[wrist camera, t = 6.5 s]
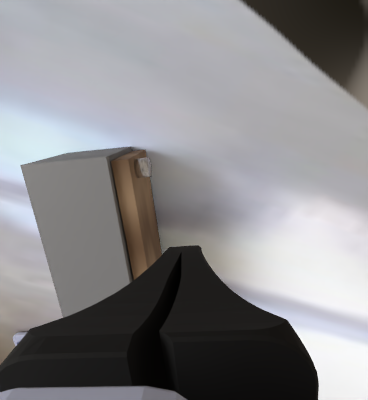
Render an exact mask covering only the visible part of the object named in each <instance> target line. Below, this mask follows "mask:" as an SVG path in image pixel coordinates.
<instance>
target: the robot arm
mask: <svg viewBox="0 0 368 400" xmlns="http://www.w3.org/2000/svg"><path fill="white" fill-rule="evenodd" d="M13 340H14V343H15V346H16V347H15V348H14V349H13V350H12V352H11V353H10V354H9V355H8V356H7V358H6V359H5V360H4V361H3V363H2V364H1V365H0V400H318V387H319V384H318V376H317V371H316V369H315V366H314V364H313V361H312V359H311V357H310V355H309V353H308V352H307V350H306V348H305V346H304V345H303V343H302V341H301V340H300V338H299V337H298V335H297V334H296V332H295V331H294V329H293V328H292V326H291V325H290V323H289V322H288V321H287V320H286V319H283V318H281V317H279V316H276V315H274V314H271V313H269V312H267V311H264V310H262V309H260V308H258V307H256V306H255V305H253V304H251V303H249V302H248V301H246V300H244V299H243V298H241V297H240V296H239V295H237V294H236V293H234V292H233V291H232V290H231V289H230V288H228V287H227V286H226V285H225V284H224V283H223V282H222V281H221V280H220V278H219V277H218V276H217V275H216V274H215V273H214V271H213V270H212V269H211V267H210V266H209V264H208V263H207V261H206V259H205V258H204V256H203V254H202V251H201V247H199V246H181V247H170V248H168V249H167V250H166V251H165V252H164V253H163V254H162V255H161V256H160V257H159V258H158V259H157V260H156V261H155V262H154V263H153V264H152V265H151V266H150V267H149V268H148V269H147V270H145V271H144V272H143V273H142V274H141V275H140V276H138V277H137V278H136V279H135V280H133V281H132V282H131V283H129V284H128V285H127V286H125V287H124V288H122V289H121V290H119V291H118V292H116V293H114V294H112V295H111V296H109V297H107V298H105V299H103V300H102V301H100V302H98V303H96V304H94V305H92V306H90V307H88V308H86V309H83V310H81V311H79V312H76V313H74V314H72V315H69V316H67V317H64V318H61V319H59V320H56V321H53V322H50V323H47V324H44V325H41V326H38V327H35V328H32V329H30V330H29V331H28V332H19V333H16V334H15V335H14V336H13Z"/></svg>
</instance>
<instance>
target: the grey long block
mask: <svg viewBox="0 0 368 400" xmlns="http://www.w3.org/2000/svg"><path fill="white" fill-rule="evenodd" d="M131 151H132V148H131V147H122V148H112V149H103V150H93V151H83V152H74V153H66V154H62V155H58V156H54V157H51V158H47V159H43V160H39V161H35V162H32V163H28V164H24V165H21V169H22V172H23V176H24V180H25V183H26V187H27V190H28V194H29V197H30V201H31V205H32V208H33V212H34V215H35V219H36V222H37V226H38V229H39V233H40V237H41V240H42V244H43V247H44V251H45V254H46V258H47V262H48V265H49V269H50V272H51V276H52V279H53V283H54V287H55V290H56V294H57V297H58V301H59V304H60V308H61V311H62V315H63V318H64V317H67V316H69V315H72V314H74V313H76V312H79V311H81V310H83V309H86V308H88V307H90V306H92V305H94V304H96V303H98V302H100V301H102V300H103V299H105V298H107V297H109V296H111V295H112V294H114V293H116V292H118V291H119V290H121V289H122V288H124V287H125V286H127V285H128V284H129V283H131V282H132V281H133V280H134V277H133V272H132V267H131V262H130V257H129V252H128V247H127V241H126V236H125V231H124V226H123V221H122V216H121V211H120V205H119V200H118V195H117V190H116V185H115V180H114V175H113V170H112V164H111V161H112V160H114V159H116V158H118V157H121V156H123V155H125V154H127V153H129V152H131Z"/></svg>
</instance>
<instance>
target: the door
mask: <svg viewBox="0 0 368 400" xmlns="http://www.w3.org/2000/svg"><path fill="white" fill-rule="evenodd" d="M111 164H112V170H113V175H114V180H115V185H116V190H117V195H118V200H119V205H120V211H121V216H122V221H123V226H124V231H125V236H126V241H127V247H128V252H129V257H130V262H131V267H132V272H133V277H134V280H135V279H136V278H137V277H138V276H140V275H141V274H142V273H143V272H144V271H145V270H147V269H148V268H149V267H150V266H151V265H152V264H153V263H154V262H155V261H156V260H157V259H158V258H159V257H160V256H161V255H162V252H161V246H160V240H159V233H158V227H157V221H156V214H155V208H154V201H153V195H152V189H151V182H150V177H151V175H152V168H151V162H150V159H149V157H146V150H137V151H131V152H129V153H127V154H125V155H123V156H121V157H118V158H116V159H114V160H112V161H111Z"/></svg>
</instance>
